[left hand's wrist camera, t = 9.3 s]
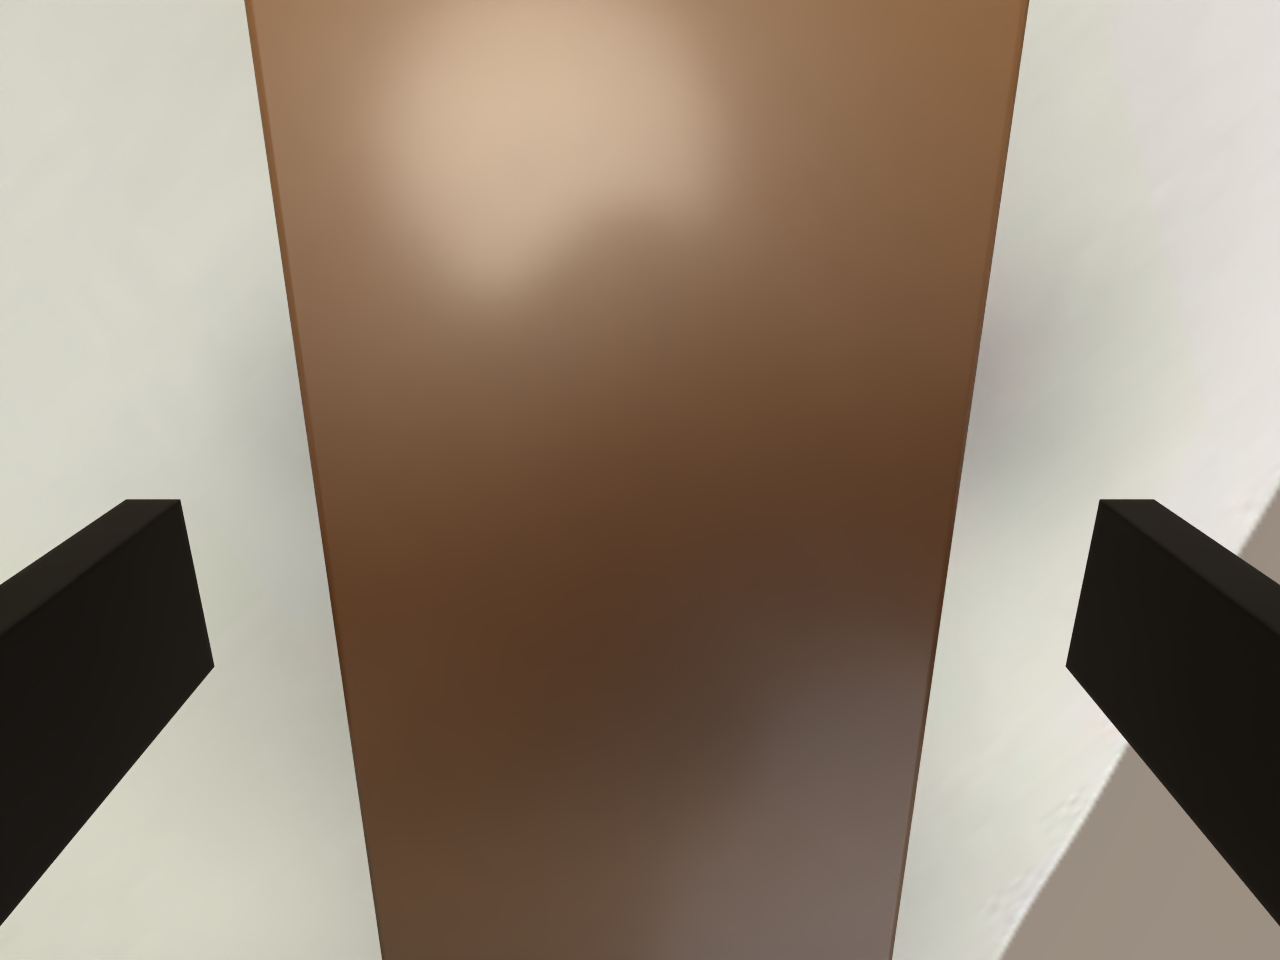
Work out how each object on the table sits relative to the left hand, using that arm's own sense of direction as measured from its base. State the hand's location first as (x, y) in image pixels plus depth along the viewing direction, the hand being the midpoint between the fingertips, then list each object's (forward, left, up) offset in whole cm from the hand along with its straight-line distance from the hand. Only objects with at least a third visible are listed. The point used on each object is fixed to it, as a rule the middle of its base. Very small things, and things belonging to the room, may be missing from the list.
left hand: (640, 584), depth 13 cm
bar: (+12, +3, -3) cm, 12 cm away
